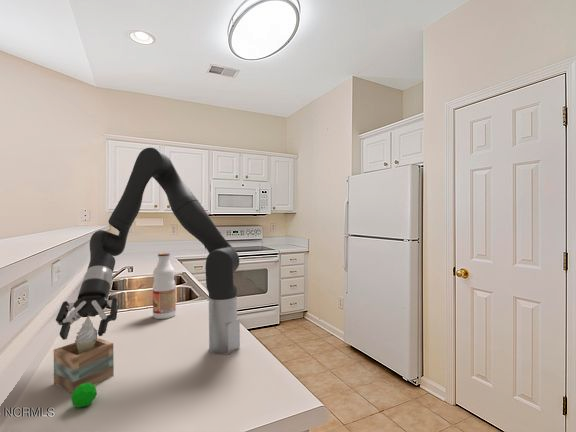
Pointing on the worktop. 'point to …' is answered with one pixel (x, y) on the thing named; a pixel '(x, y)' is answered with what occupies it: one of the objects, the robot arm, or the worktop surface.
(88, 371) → the square wooden crate
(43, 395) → the worktop surface
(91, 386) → the polyhedron
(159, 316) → the fruit juice
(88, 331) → the ice cream cone
